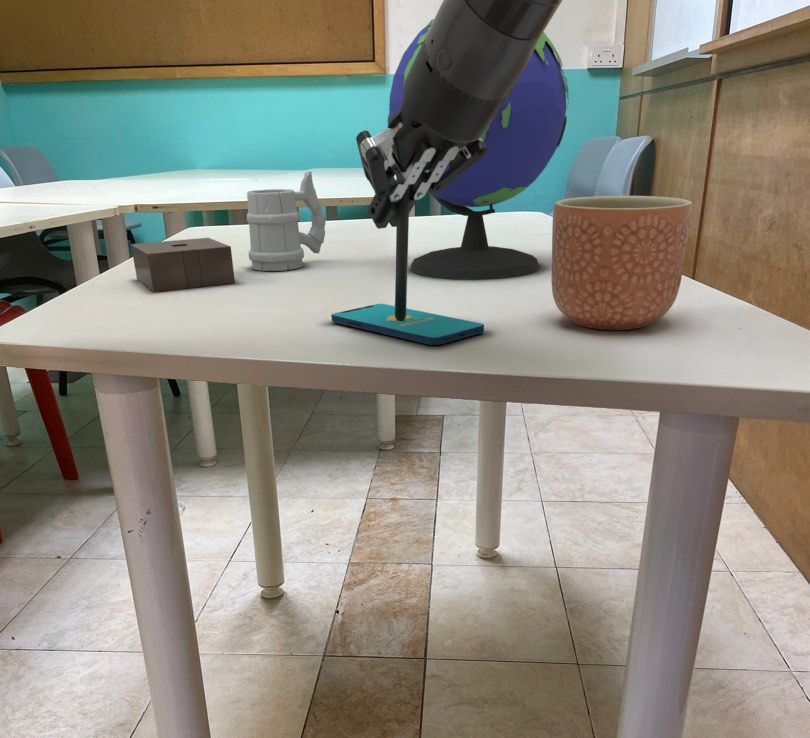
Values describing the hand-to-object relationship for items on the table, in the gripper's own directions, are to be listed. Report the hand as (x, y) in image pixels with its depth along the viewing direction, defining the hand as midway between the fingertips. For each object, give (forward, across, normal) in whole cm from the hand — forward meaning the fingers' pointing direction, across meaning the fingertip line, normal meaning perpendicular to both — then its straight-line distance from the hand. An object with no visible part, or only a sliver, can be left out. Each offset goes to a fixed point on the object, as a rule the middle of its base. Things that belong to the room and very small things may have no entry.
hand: (383, 219), depth 76 cm
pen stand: (+34, +4, -20) cm, 40 cm away
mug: (+35, -12, -21) cm, 43 cm away
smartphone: (+6, -1, +8) cm, 10 cm away
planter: (-3, -17, +17) cm, 24 cm away
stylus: (+5, 0, +8) cm, 9 cm away
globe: (+21, -29, -7) cm, 36 cm away
